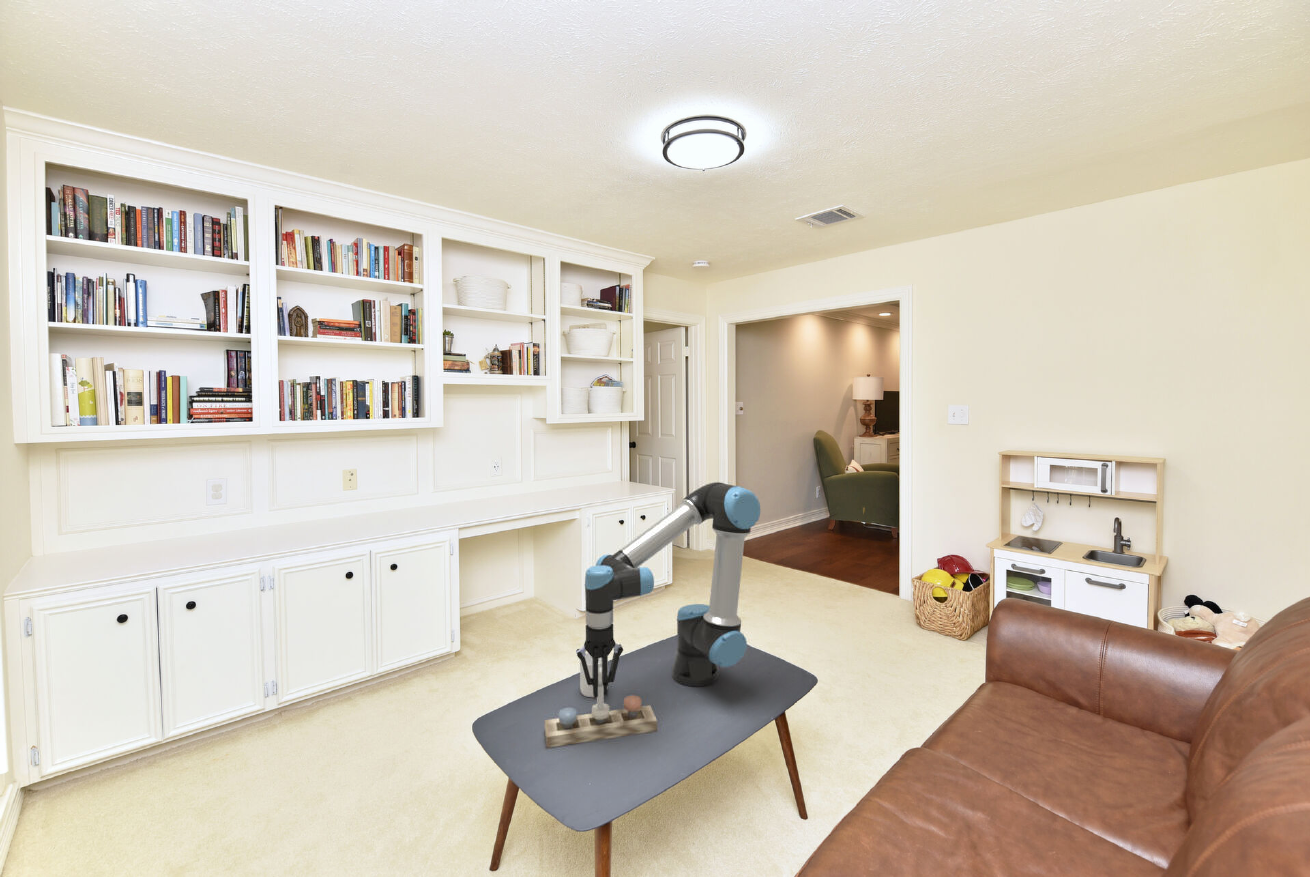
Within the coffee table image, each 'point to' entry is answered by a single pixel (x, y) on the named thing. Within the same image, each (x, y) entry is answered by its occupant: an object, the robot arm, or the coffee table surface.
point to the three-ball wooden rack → (600, 727)
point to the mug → (584, 687)
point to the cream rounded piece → (600, 714)
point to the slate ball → (567, 717)
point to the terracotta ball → (632, 705)
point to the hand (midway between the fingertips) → (600, 706)
